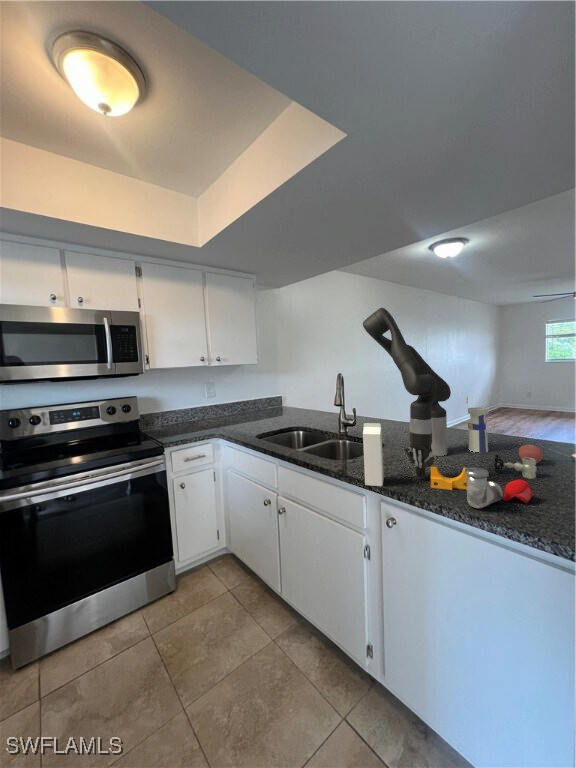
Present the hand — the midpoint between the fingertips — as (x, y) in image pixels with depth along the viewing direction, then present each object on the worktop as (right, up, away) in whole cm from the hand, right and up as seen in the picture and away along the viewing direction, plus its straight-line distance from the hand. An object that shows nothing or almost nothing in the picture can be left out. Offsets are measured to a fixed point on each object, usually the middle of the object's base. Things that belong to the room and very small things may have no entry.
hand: (420, 476), depth 114 cm
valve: (+34, +1, 0) cm, 34 cm away
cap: (+21, -2, -19) cm, 29 cm away
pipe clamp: (+7, -2, -7) cm, 10 cm away
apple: (+47, +2, +9) cm, 48 cm away
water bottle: (+38, +3, +28) cm, 48 cm away
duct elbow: (+10, -2, -21) cm, 23 cm away
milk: (-17, -2, 0) cm, 17 cm away
